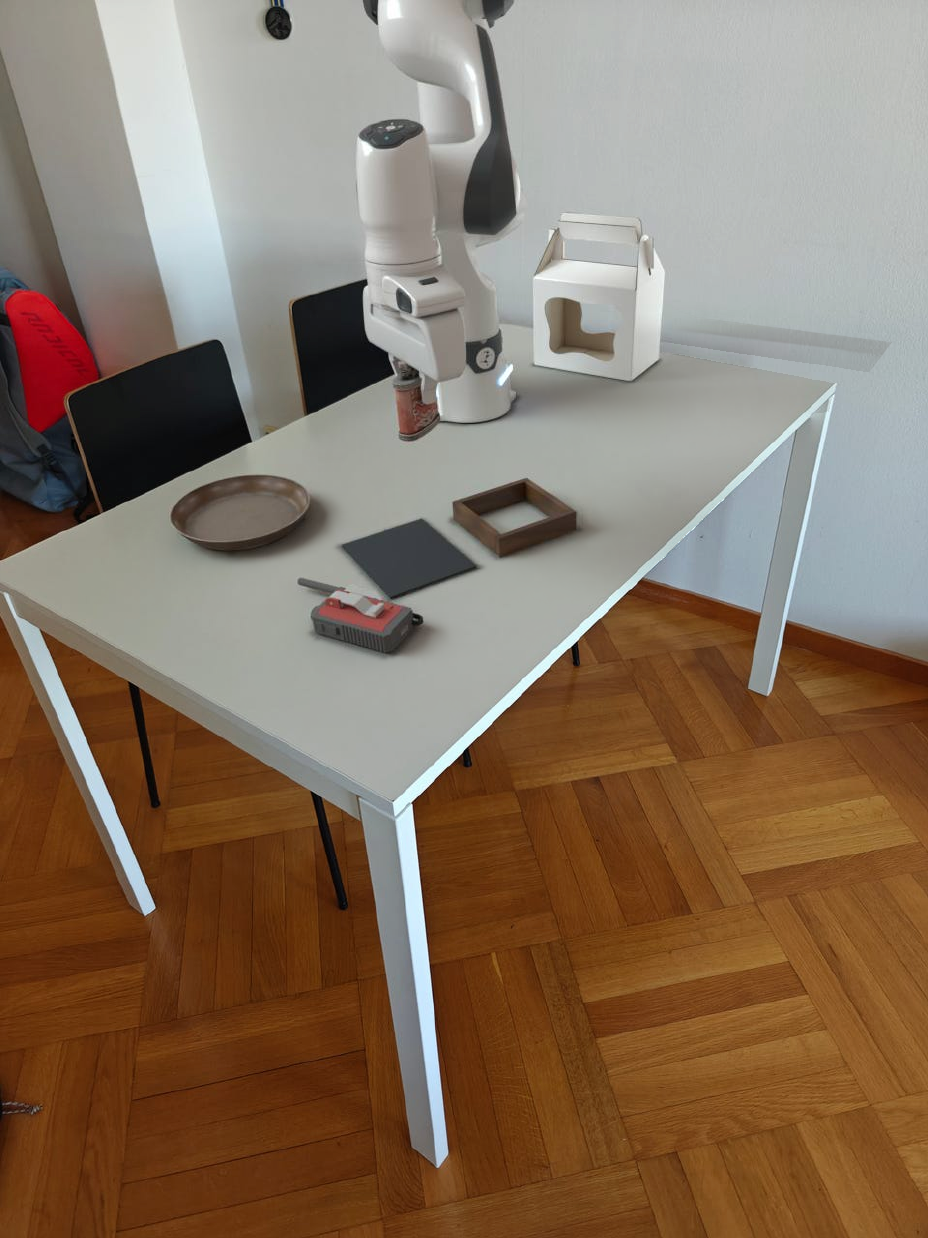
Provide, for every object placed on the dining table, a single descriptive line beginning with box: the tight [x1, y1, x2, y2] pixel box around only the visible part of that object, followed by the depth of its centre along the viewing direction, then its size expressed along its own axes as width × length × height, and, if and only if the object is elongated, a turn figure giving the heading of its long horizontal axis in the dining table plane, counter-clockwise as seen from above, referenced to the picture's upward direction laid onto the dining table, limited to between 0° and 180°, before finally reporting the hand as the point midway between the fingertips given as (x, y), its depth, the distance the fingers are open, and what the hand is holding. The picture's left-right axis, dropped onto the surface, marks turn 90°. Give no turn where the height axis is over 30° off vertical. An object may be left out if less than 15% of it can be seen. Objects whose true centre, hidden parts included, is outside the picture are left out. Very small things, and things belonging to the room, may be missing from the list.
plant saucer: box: [169, 473, 311, 551], centre depth 133 cm, size 21×21×3 cm
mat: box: [341, 518, 477, 600], centre depth 123 cm, size 16×13×1 cm
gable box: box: [532, 211, 666, 382], centre depth 172 cm, size 22×13×28 cm, turn 56°
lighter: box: [392, 360, 441, 443], centre depth 111 cm, size 8×3×10 cm, turn 153°
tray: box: [451, 477, 578, 558], centre depth 128 cm, size 13×13×3 cm
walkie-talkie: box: [297, 577, 424, 654], centre depth 111 cm, size 9×4×20 cm
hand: (416, 394), depth 111 cm, fingers closed on lighter, 5 cm apart
